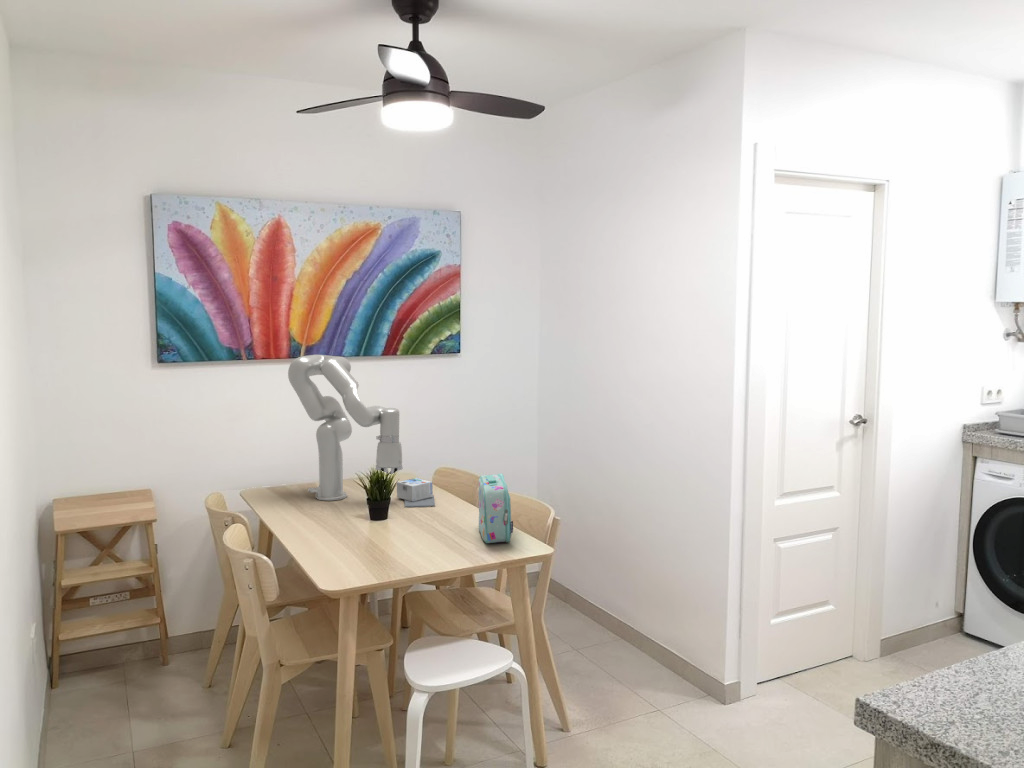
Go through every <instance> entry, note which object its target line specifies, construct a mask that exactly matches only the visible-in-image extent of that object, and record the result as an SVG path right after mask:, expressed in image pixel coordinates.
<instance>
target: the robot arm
mask: <svg viewBox="0 0 1024 768" xmlns="http://www.w3.org/2000/svg"><path fill="white" fill-rule="evenodd" d="M351 369H352V366H351V363H350V361H349V360H348V359H347V358H346V357H344V356H339V355H338V356H337V355H326V354H311V355H309V354H308V355H303V356H299V357H296V358H295V359H293V360H292V361H291V363H290V364H289V366H288V372H287V374H288V375H287V378H288V380H289V383H290V385H291V387H292V388H293V390H294V392H295V393H296V395H297V397H298V398H299V401H300V403H301V405H302V406H303V408H304V409H305V411H306V414H307V415H308V417H309V418H310V420H312V421H314V422H322V421H325V422H323V423H321V424H320V425H319V426H318V428H317V429H316V431H315V432H316V433H315V436H316V437H315V438H316V443H317V449H318V478H319V479H318V483H319V484H318V486H316V487H308V490H307V491H308V492H307V493H310V494H315V499H316V498H317V500H320V501H327V502H328V501H339V500H343V499H345V498H347V497H348V493H347V492H346V491H344V473H343V472H344V468H343V464H344V463H343V461H344V460H343V450H342V449H343V448H342V447H341V442H345V441H346V440H348V439H349V438H350V437H351V435H352V432H353V427H352V424H351V422H350V420H349V418H348V416H347V414H346V412H347V413H348V415H349V416H350V417H351V419H353V420H354V422H355V423H356V424H358V425H359V426H360V427H363V428H369V427H373V426H376V425H380V426H379V435H377V436H376V440H379V441H378V442H377V446H376V459H375V462H376V463H375V464H376V465H375V470H376V471H380V470H382V471H384V472H386V473H388V474H393V473H394V474H395V473H396V472H398V471H402V470H403V450H402V447H403V446H402V442H400V410H399V409H398V408H395V407H383V406H380V405H372V406H367V407H366V405H365V404H364V402H362V401H361V399H360V398H359V395H358V389H359V382H358V381H357V379H356V378H354V377H353V375H352V374H351ZM312 376H324V378H325V379H326V380H327V381H328V382H329V383H330V384H331V385H332V387H333V388H334V389H335V390H336V391H337V393H338V394H339V395H340V396H341V399H342V403H343V406H344V408H345V411H346V412H345V411H344V408H343V407H342V405H341V404H340V402H339V401H338V400H337V399H336V398H335V397H333V396H330V395H324V396H323V395H322V393H321V391H320V389H319V388H318V385H317V384H316V383H315V382H314V381H313V380H312V379H311V378H310V377H312ZM388 469H390V472H389V471H388ZM382 471H381V472H382ZM394 474H393V475H394Z"/></svg>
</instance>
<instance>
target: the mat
mask: <svg viewBox="0 0 1024 768" xmlns="http://www.w3.org/2000/svg"><path fill="white" fill-rule="evenodd" d="M428 506H435V507H436V501H435V495H434V494H433V497H430V498H426V499H422V500H417V501H413V502H412V501H409V500H405V499H404V508H405V507H407V508H429V507H428Z"/></svg>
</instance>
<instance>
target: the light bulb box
mask: <svg viewBox="0 0 1024 768" xmlns="http://www.w3.org/2000/svg"><path fill="white" fill-rule="evenodd" d="M433 487H434V486H433V481H429V480H425V479H422V478H419V477H415V478H411V479H405V480H401V481H400V480H399V481H396V497H397V498H398V499H402V500H404V501H405V500H409V501H412V502H413V501H417V500H422V499H426V498H430V497H433V495H434V494H433V493H434V489H433Z"/></svg>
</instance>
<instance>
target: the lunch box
mask: <svg viewBox="0 0 1024 768" xmlns="http://www.w3.org/2000/svg"><path fill="white" fill-rule="evenodd" d="M477 485H478V512H479V513H478V530H479V533H480V535H481V538H482V540H483V541H484V543H486V544H495V543H505V542H506V543H509V542H511V537H512V533H513V532H514V520H512V507H511V495H510V494H509V488H508V484H507V483H506V481H505V476H504V474H503V473H497V474H485V475H480V476H479V478H478V484H477Z"/></svg>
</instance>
